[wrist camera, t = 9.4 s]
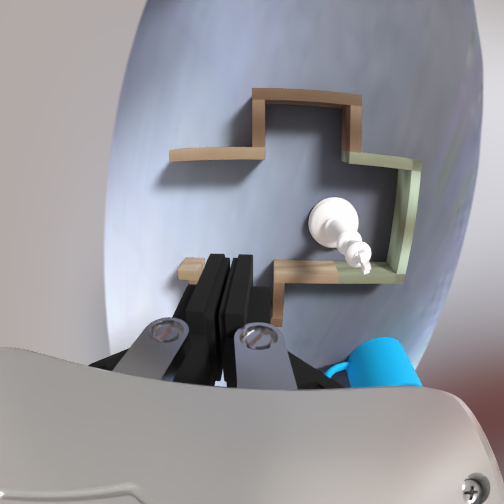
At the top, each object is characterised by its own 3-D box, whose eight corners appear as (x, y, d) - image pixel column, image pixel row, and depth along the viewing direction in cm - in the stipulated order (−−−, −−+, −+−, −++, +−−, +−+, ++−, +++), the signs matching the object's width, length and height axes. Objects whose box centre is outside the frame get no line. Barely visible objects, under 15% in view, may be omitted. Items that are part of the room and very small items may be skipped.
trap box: (178, 97, 24) (168, 93, 21) (408, 109, 23) (423, 106, 20) (190, 307, 32) (184, 322, 29) (384, 309, 31) (392, 324, 28)
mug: (412, 336, 32) (436, 379, 25) (390, 381, 35) (407, 423, 28) (325, 335, 32) (336, 385, 25) (311, 382, 36) (317, 430, 28)
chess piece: (316, 252, 29) (341, 308, 19) (301, 207, 27) (323, 247, 18) (362, 236, 28) (404, 284, 19) (349, 190, 26) (393, 221, 17)
